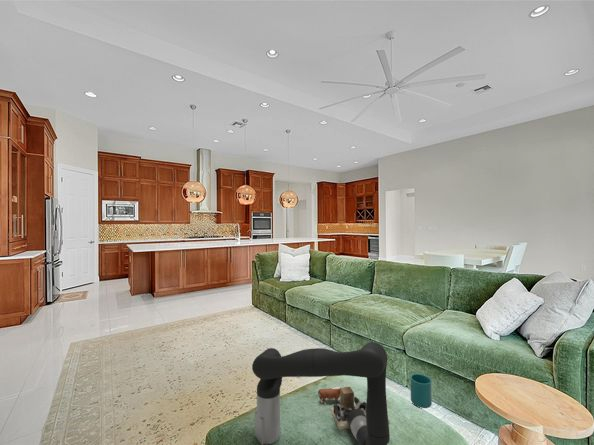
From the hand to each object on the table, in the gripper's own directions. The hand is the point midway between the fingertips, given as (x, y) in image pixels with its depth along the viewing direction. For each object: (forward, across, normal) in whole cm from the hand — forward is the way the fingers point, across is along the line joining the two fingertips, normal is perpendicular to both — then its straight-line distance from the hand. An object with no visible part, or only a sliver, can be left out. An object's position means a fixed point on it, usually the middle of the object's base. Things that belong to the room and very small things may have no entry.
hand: (345, 400), depth 121 cm
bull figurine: (+10, +3, +8) cm, 13 cm away
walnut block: (-2, 0, +7) cm, 7 cm away
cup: (+5, -39, +8) cm, 40 cm away
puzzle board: (-2, -6, +8) cm, 9 cm away
